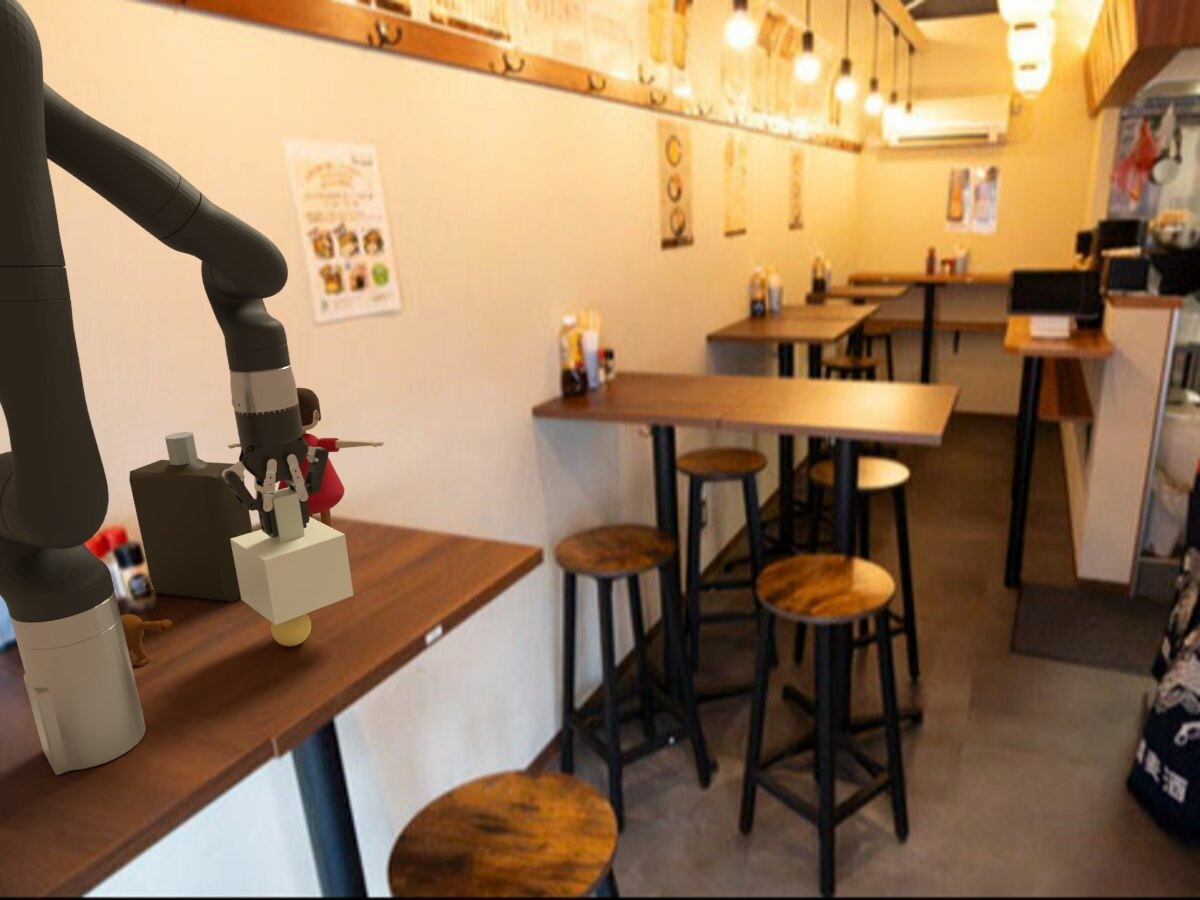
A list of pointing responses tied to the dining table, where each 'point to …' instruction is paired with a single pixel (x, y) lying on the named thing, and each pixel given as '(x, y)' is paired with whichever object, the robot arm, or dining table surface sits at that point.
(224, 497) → the bottle
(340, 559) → the cover
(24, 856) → the dining table surface
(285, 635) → the ball
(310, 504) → the toy
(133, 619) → the toy figurine
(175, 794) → the dining table surface
